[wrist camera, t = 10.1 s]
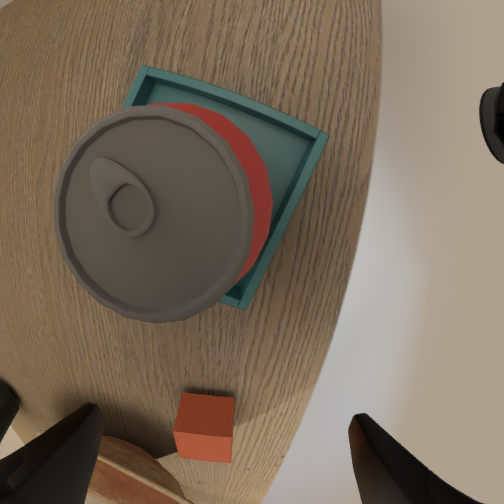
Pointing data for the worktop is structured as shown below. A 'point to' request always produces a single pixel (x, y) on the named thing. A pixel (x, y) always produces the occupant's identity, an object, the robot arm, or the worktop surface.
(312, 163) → the tray
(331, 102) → the worktop surface
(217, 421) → the terracotta block
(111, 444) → the bowl
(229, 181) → the beer can
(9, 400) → the potion bottle
